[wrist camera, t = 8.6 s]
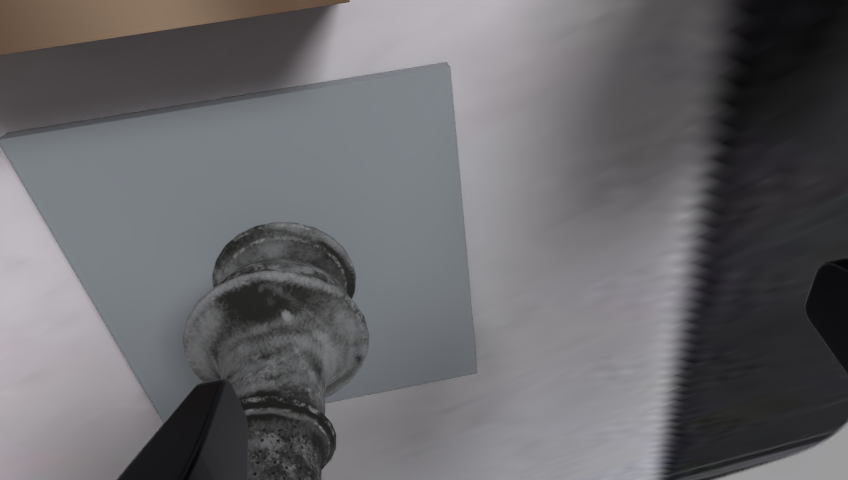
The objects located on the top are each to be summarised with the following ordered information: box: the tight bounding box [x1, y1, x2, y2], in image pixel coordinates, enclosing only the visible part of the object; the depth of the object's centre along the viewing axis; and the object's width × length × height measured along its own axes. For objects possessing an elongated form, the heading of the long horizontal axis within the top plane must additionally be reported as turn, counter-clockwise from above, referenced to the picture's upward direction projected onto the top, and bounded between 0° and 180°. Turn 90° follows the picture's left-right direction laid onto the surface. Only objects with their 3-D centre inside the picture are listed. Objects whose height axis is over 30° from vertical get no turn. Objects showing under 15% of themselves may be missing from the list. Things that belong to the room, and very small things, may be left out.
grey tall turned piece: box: [183, 222, 369, 480], centre depth 15 cm, size 6×6×12 cm
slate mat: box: [0, 62, 477, 423], centre depth 21 cm, size 14×14×1 cm
